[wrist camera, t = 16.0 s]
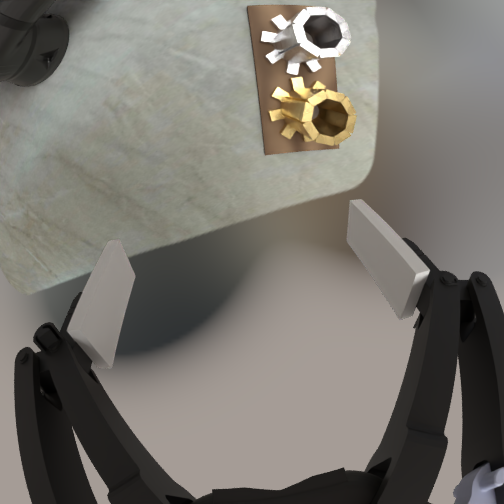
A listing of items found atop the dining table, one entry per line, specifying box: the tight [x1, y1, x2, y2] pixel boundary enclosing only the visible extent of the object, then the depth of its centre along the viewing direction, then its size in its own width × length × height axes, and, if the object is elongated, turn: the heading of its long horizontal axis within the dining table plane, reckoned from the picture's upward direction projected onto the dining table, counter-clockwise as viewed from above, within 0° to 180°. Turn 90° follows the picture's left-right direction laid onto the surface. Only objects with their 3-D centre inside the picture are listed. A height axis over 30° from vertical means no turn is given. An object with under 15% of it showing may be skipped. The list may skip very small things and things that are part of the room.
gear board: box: [247, 5, 339, 155], centre depth 36 cm, size 14×28×6 cm, turn 7°
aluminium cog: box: [260, 7, 351, 75], centre depth 29 cm, size 11×11×13 cm
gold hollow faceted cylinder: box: [268, 77, 357, 146], centre depth 36 cm, size 11×11×13 cm
